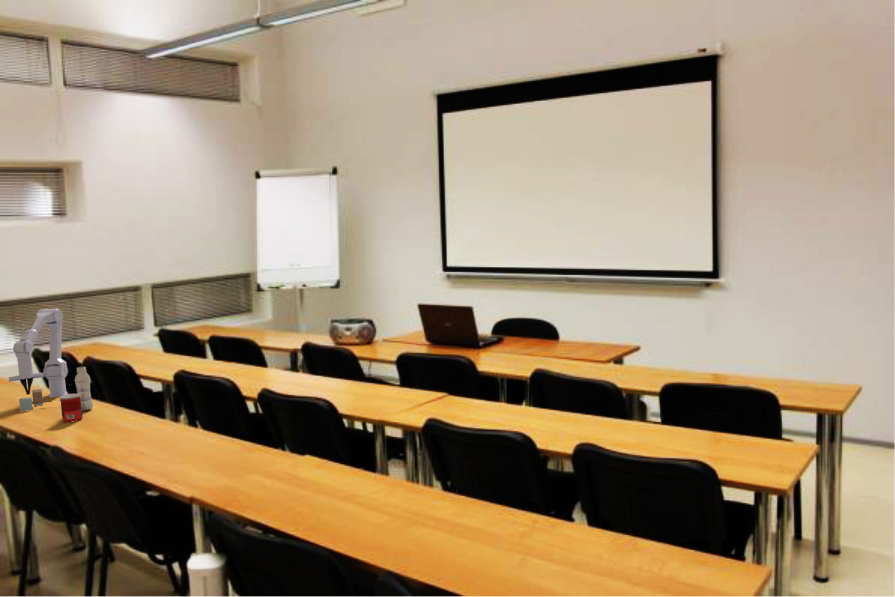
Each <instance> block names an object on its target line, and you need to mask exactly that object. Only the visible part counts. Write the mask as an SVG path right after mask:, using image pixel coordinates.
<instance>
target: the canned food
mask: <svg viewBox="0 0 895 597" xmlns="http://www.w3.org/2000/svg"><path fill="white" fill-rule="evenodd" d="M59 400H60V402H61V406H60V409H61V419H62V421H64V422H63V423H66V422H69V423H72V422H71V421H76V420H79V421H81V420H83V411H82V406H81V397H80V394H77V393H69V394H68V393H67V395H64V396H59ZM80 419H81V420H80ZM76 422H77V421H76Z"/></svg>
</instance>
